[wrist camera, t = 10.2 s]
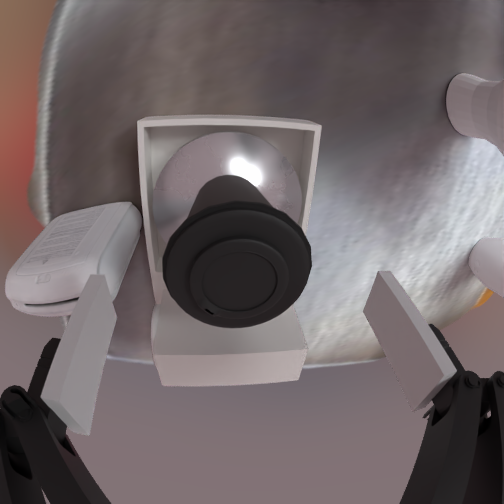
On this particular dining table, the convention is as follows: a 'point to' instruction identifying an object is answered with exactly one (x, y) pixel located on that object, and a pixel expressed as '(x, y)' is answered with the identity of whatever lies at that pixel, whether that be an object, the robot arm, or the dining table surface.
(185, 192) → the pan
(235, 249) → the coffee cup
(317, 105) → the dining table surface
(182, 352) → the base
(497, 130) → the cup
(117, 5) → the dining table surface
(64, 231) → the photo printer
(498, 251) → the figurine
